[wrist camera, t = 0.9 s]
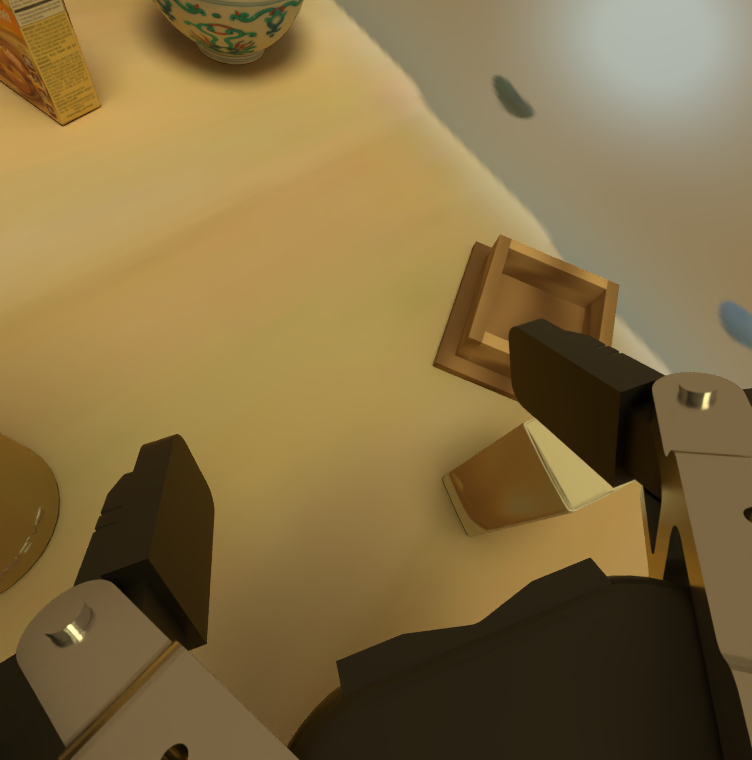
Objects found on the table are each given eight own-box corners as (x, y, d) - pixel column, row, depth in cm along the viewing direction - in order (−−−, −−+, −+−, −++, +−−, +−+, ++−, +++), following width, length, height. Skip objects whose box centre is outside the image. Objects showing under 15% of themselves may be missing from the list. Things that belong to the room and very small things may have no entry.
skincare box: (511, 446, 33) (627, 376, 22) (542, 503, 32) (681, 459, 21) (435, 478, 31) (521, 419, 20) (464, 541, 29) (573, 514, 19)
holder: (432, 365, 34) (447, 344, 31) (473, 245, 40) (489, 218, 37) (589, 431, 35) (619, 416, 32) (607, 302, 40) (634, 279, 37)
